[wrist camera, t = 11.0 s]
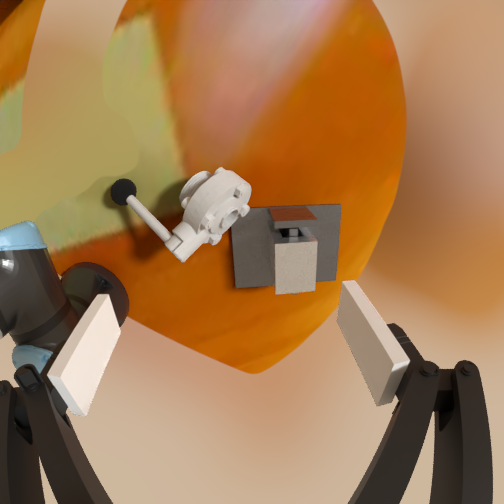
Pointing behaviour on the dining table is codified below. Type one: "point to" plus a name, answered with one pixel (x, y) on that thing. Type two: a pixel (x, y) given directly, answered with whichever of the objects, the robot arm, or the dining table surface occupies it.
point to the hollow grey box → (293, 261)
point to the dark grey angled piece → (286, 220)
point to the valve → (195, 209)
